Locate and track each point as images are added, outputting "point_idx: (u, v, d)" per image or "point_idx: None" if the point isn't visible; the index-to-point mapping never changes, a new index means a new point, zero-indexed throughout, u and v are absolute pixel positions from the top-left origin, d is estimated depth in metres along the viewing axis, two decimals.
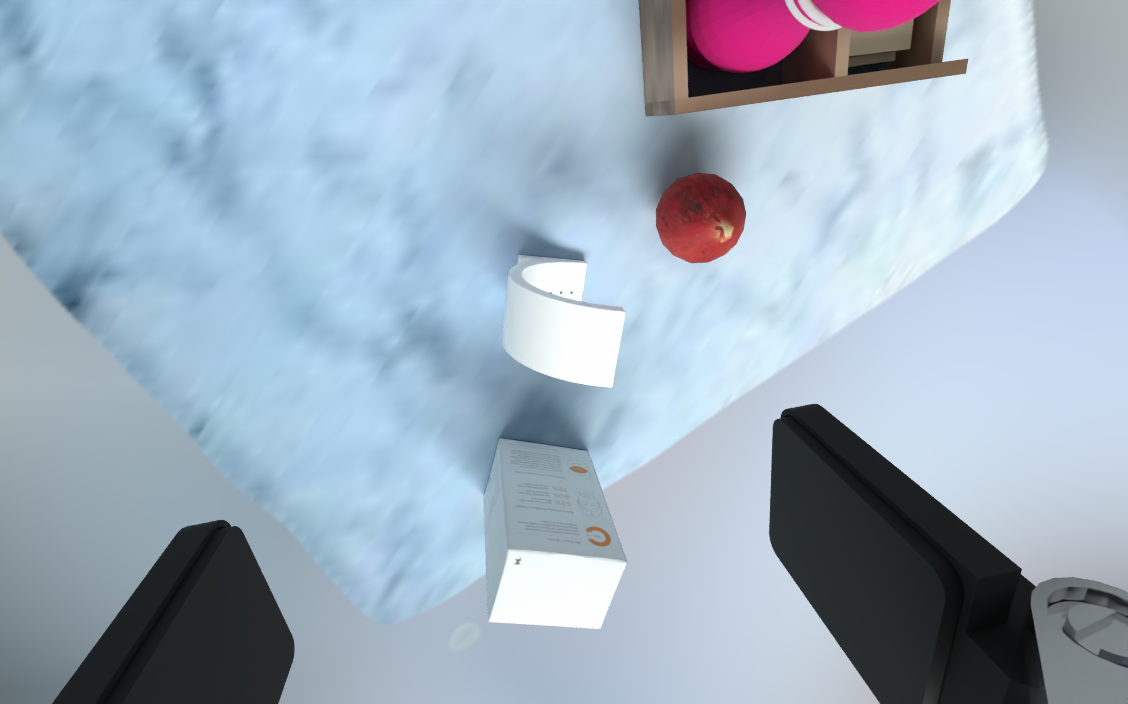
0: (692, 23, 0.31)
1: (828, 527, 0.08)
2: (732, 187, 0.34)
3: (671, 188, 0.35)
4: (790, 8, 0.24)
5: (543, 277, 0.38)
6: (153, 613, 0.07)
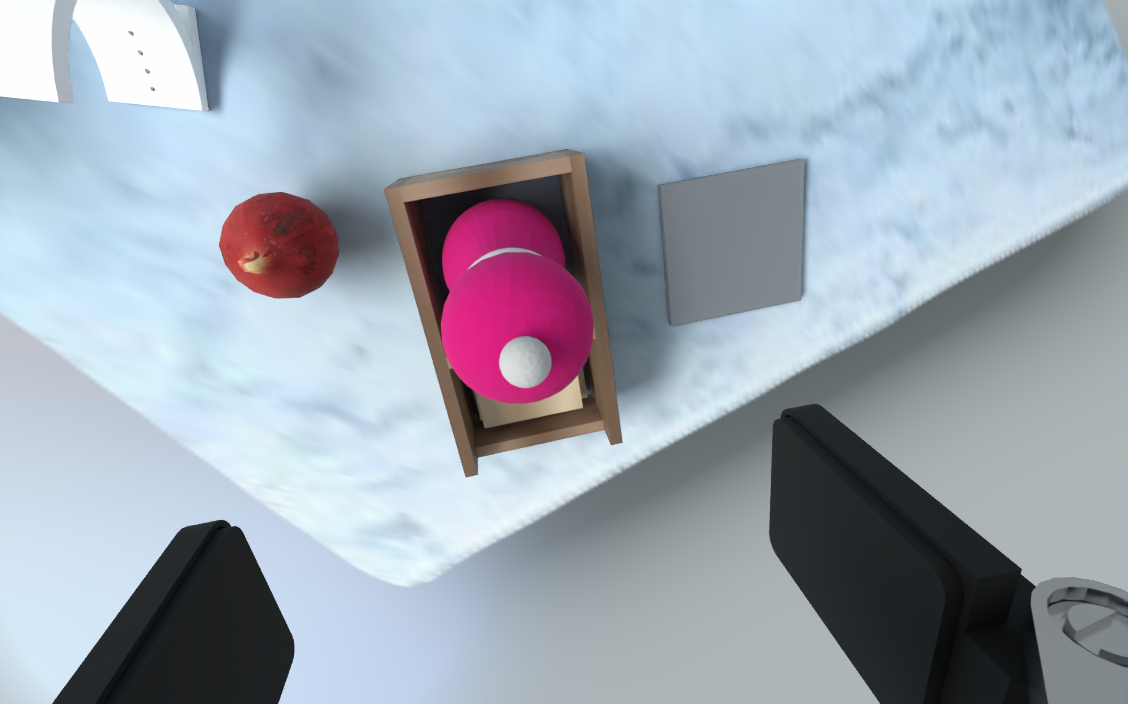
0: (480, 204, 0.30)
1: (828, 527, 0.08)
2: (320, 274, 0.30)
3: (311, 206, 0.30)
4: (471, 266, 0.23)
5: (159, 38, 0.27)
6: (153, 613, 0.07)
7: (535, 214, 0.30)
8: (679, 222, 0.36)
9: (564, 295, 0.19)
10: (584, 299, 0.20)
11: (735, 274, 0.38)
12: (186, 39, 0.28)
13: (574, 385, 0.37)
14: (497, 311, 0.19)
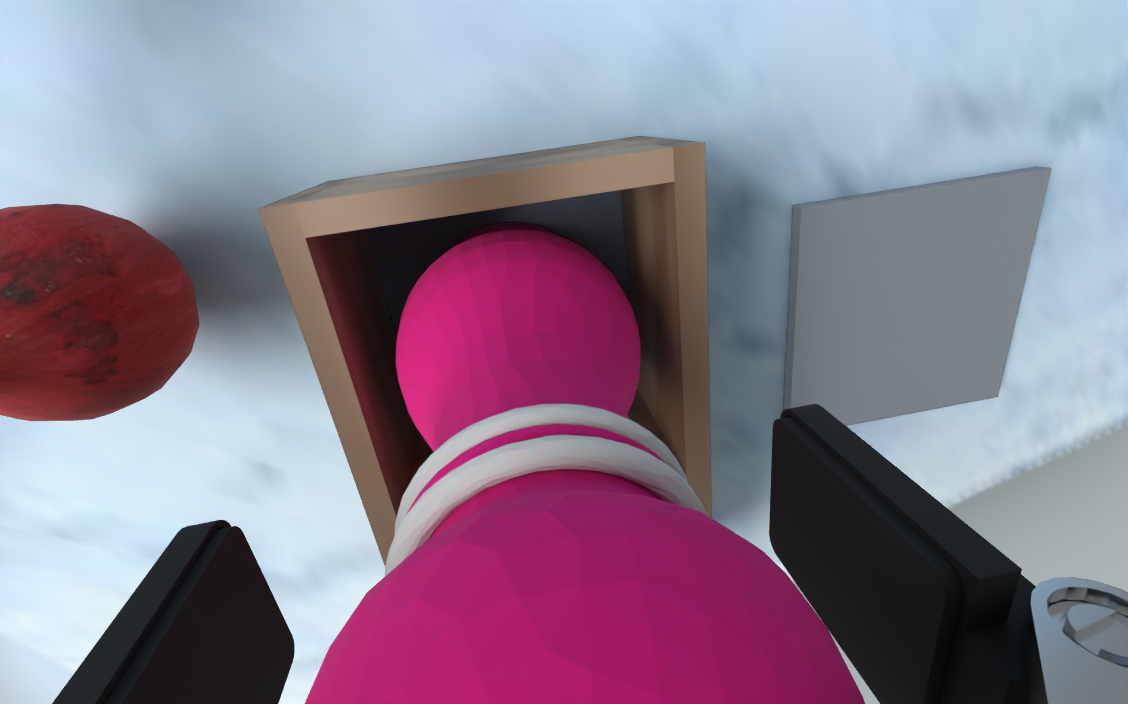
0: (476, 240, 0.15)
1: (828, 527, 0.08)
2: (140, 377, 0.14)
3: (126, 234, 0.14)
4: (436, 454, 0.08)
5: None
6: (153, 613, 0.07)
7: (590, 268, 0.14)
8: (824, 271, 0.21)
9: None
10: None
11: (902, 356, 0.23)
12: None
13: None
14: None
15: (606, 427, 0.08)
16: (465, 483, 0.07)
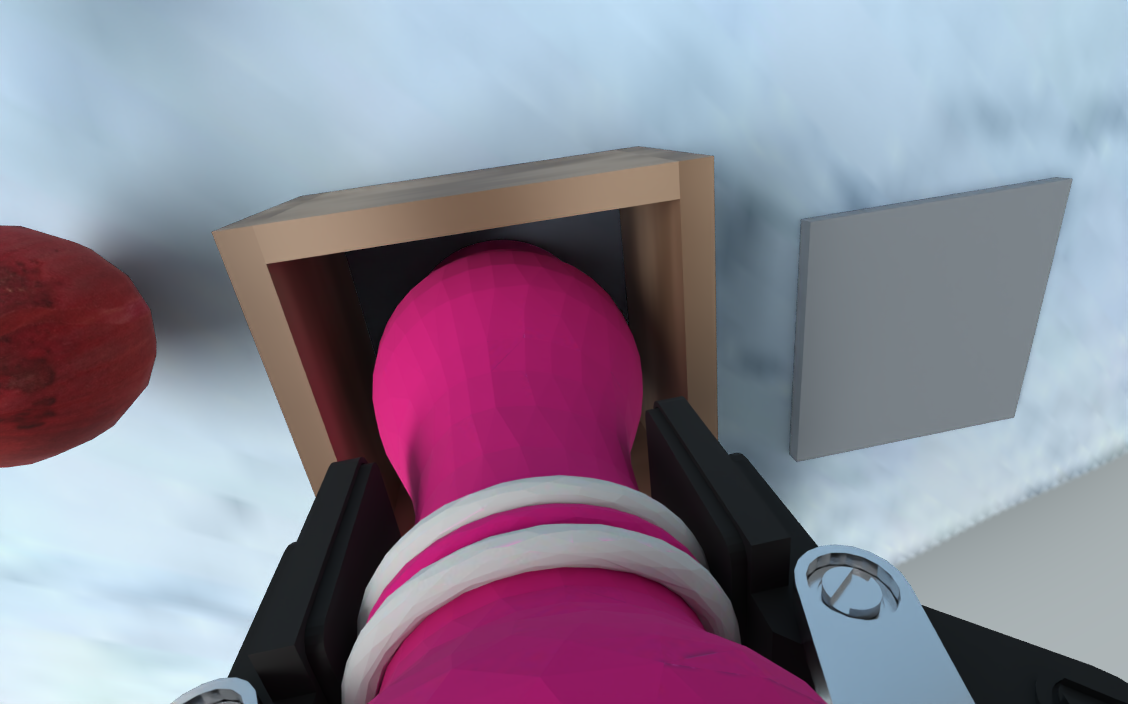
0: (461, 262, 0.13)
1: (677, 507, 0.09)
2: (85, 418, 0.13)
3: (68, 258, 0.13)
4: (405, 540, 0.07)
5: None
6: (334, 523, 0.08)
7: (587, 293, 0.13)
8: (835, 288, 0.20)
9: None
10: None
11: (916, 377, 0.22)
12: None
13: None
14: None
15: (611, 505, 0.07)
16: (438, 589, 0.06)
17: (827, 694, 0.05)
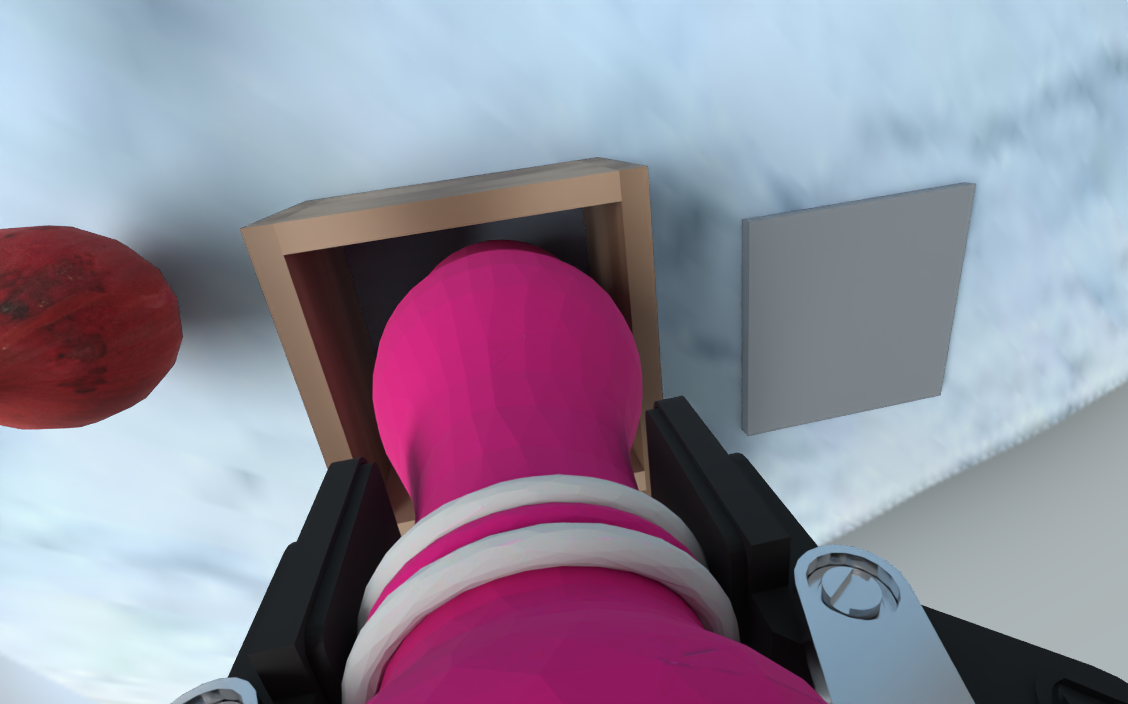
0: (460, 262, 0.13)
1: (677, 508, 0.09)
2: (127, 386, 0.15)
3: (113, 253, 0.15)
4: (405, 539, 0.07)
5: None
6: (334, 523, 0.08)
7: (587, 293, 0.13)
8: (773, 280, 0.22)
9: None
10: None
11: (850, 359, 0.25)
12: None
13: None
14: None
15: (611, 504, 0.07)
16: (438, 588, 0.06)
17: (827, 693, 0.05)
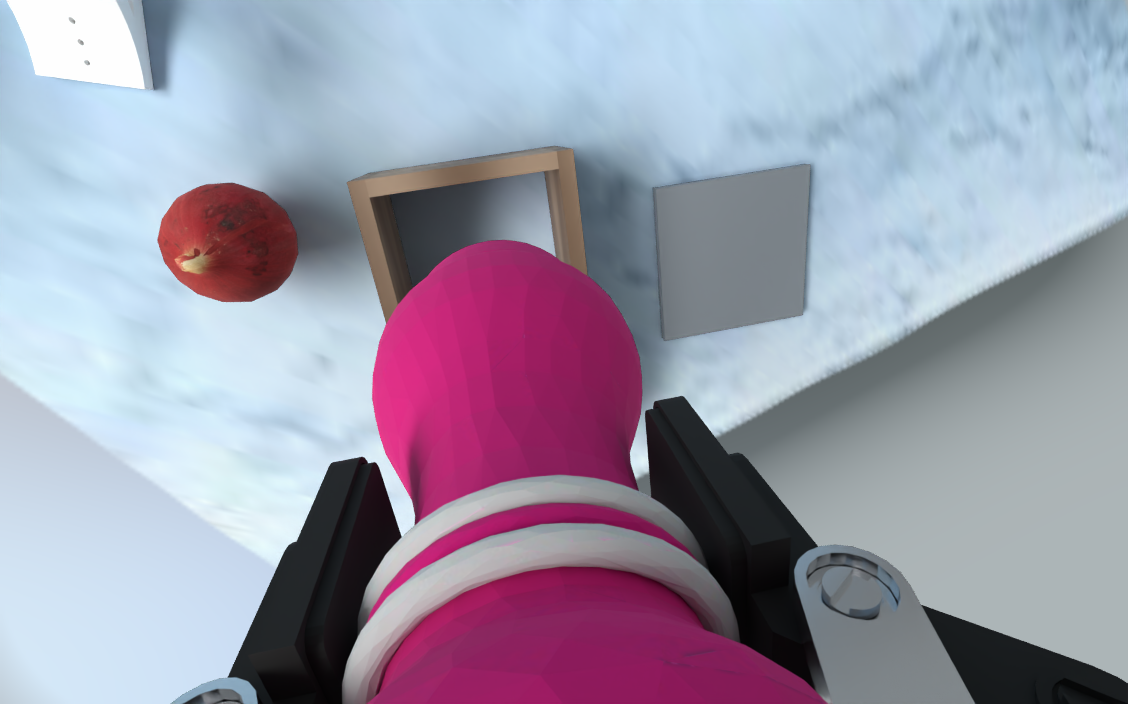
0: (460, 262, 0.13)
1: (677, 507, 0.09)
2: (274, 276, 0.26)
3: (266, 199, 0.27)
4: (405, 540, 0.07)
5: (93, 4, 0.24)
6: (334, 523, 0.08)
7: (586, 293, 0.13)
8: (675, 228, 0.34)
9: None
10: None
11: (734, 286, 0.36)
12: (125, 7, 0.25)
13: None
14: None
15: (611, 504, 0.07)
16: (438, 588, 0.06)
17: (827, 694, 0.05)
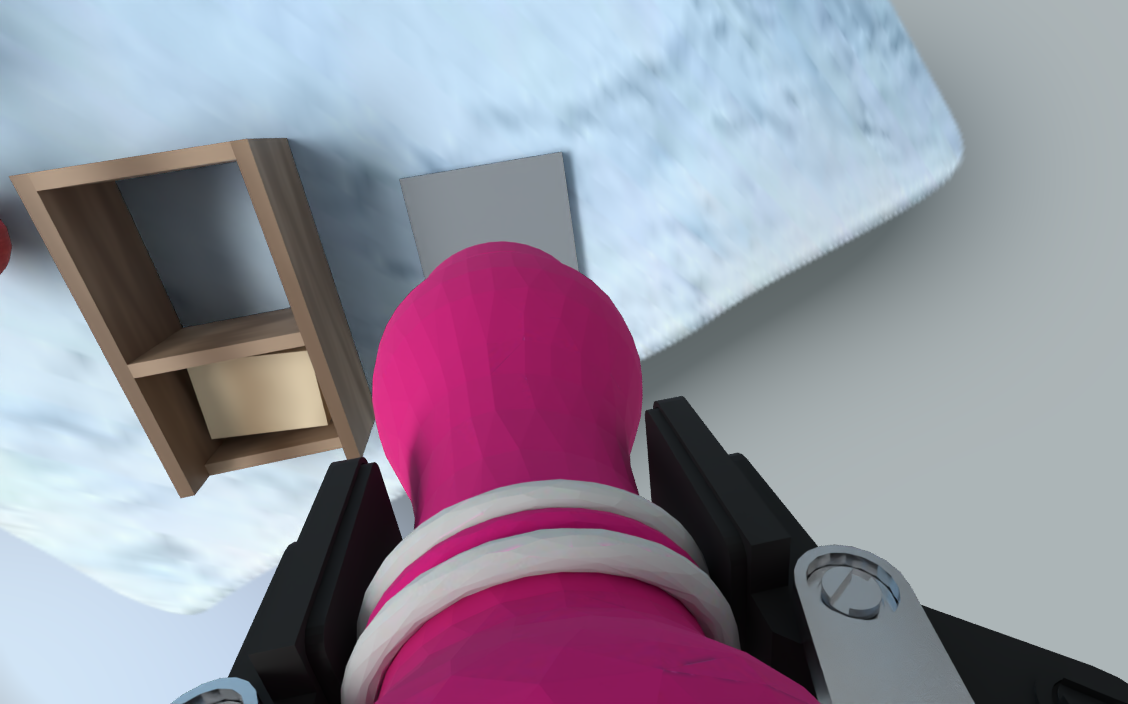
0: (460, 264, 0.13)
1: (677, 507, 0.09)
2: None
3: None
4: (405, 544, 0.07)
5: None
6: (334, 523, 0.08)
7: (587, 295, 0.13)
8: (428, 219, 0.33)
9: None
10: None
11: None
12: None
13: (316, 399, 0.34)
14: None
15: (611, 509, 0.07)
16: (437, 594, 0.06)
17: (827, 694, 0.05)
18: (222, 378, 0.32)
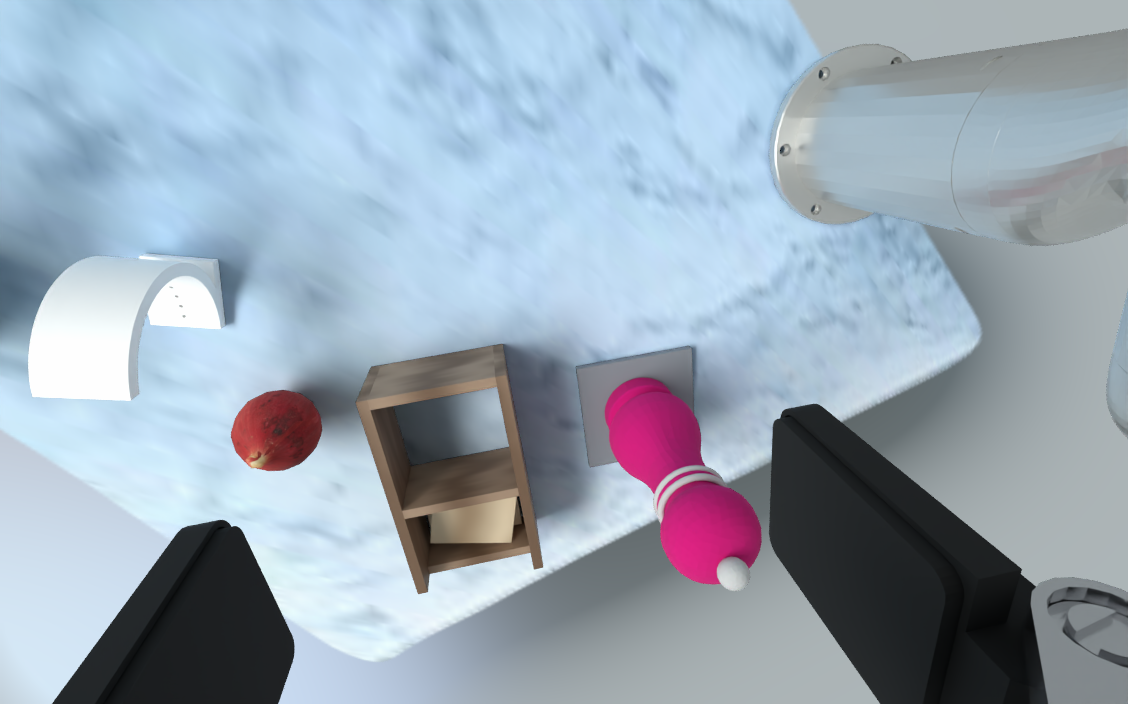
0: (642, 398, 0.42)
1: (828, 527, 0.08)
2: (307, 454, 0.39)
3: (301, 402, 0.39)
4: (667, 477, 0.35)
5: (191, 289, 0.37)
6: (153, 613, 0.07)
7: (684, 409, 0.41)
8: (593, 394, 0.46)
9: (751, 525, 0.31)
10: (758, 521, 0.32)
11: None
12: (211, 286, 0.37)
13: (509, 525, 0.47)
14: (714, 540, 0.30)
15: (706, 470, 0.35)
16: (680, 484, 0.34)
17: None
18: None
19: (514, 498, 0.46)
